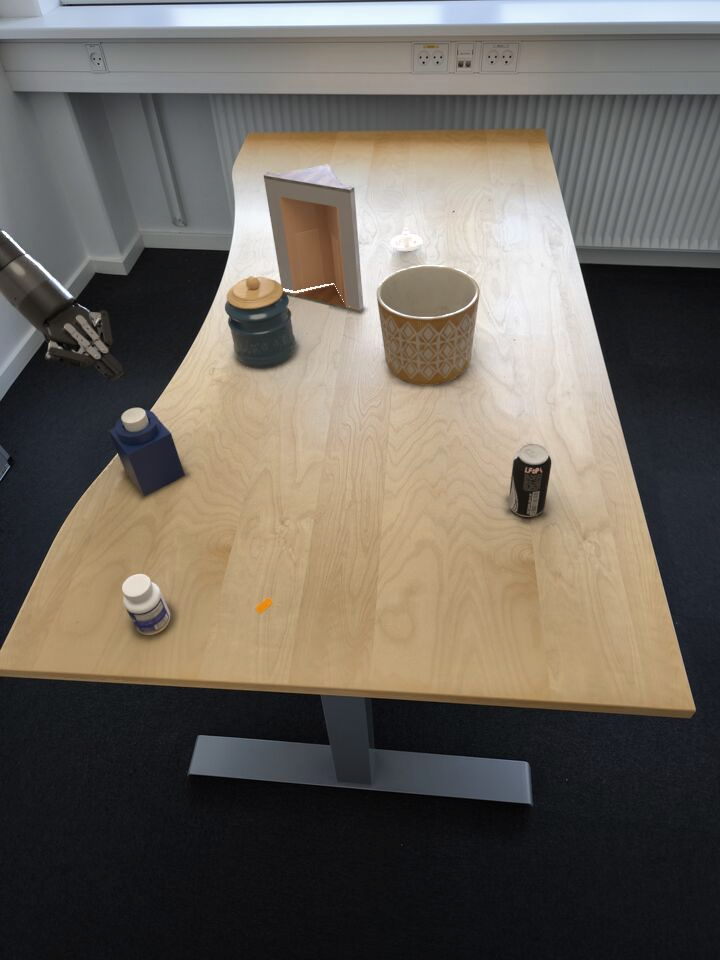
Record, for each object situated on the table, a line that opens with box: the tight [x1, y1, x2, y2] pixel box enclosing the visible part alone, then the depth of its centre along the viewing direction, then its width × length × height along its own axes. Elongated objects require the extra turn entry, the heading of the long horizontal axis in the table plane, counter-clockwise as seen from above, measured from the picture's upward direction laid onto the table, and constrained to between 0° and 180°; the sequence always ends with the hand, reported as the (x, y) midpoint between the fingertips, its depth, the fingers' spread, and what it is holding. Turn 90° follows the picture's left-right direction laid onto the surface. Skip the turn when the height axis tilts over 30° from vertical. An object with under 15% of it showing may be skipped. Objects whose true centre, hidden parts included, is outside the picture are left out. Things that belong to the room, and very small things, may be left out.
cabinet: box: [263, 163, 364, 314], centre depth 161 cm, size 21×10×28 cm, turn 61°
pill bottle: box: [121, 573, 171, 636], centre depth 105 cm, size 5×5×9 cm
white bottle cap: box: [120, 407, 149, 432], centre depth 122 cm, size 4×4×2 cm
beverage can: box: [508, 442, 552, 518], centre depth 115 cm, size 6×6×12 cm
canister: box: [224, 275, 296, 369], centre depth 150 cm, size 13×13×18 cm
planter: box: [376, 264, 481, 386], centre depth 143 cm, size 19×19×16 cm
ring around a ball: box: [389, 227, 423, 253], centre depth 182 cm, size 8×6×8 cm
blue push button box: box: [108, 409, 186, 497], centre depth 127 cm, size 8×8×12 cm
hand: (119, 376), depth 116 cm, fingers closed
